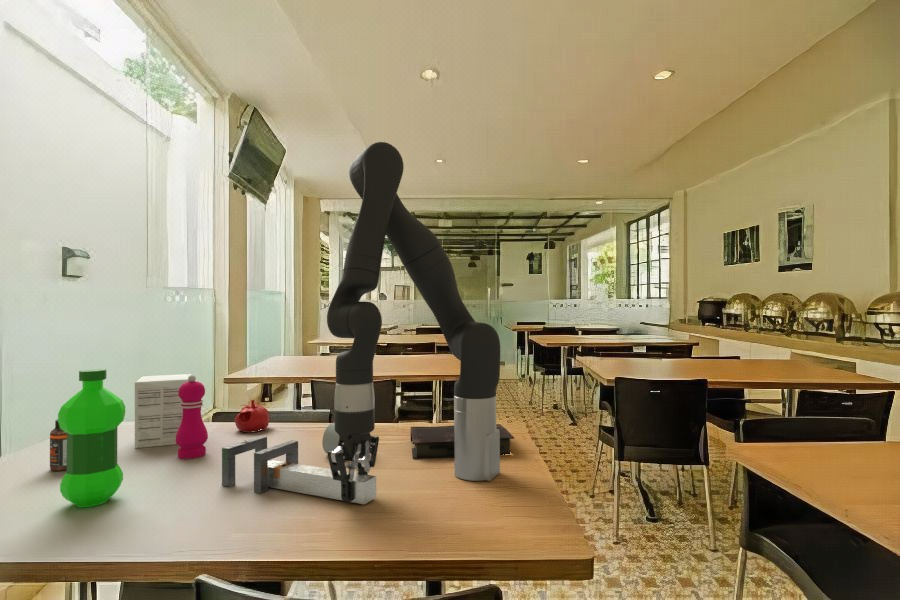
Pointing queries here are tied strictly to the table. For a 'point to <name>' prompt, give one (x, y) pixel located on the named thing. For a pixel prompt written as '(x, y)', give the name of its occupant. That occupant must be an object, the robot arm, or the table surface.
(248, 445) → the collar
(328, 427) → the ceramic mug
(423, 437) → the diary
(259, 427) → the pomegranate
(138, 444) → the supplement box
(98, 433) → the plastic bottle
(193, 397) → the pepper mill
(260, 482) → the collar
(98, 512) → the table surface
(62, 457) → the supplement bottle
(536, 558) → the table surface
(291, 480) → the orange banded bar
